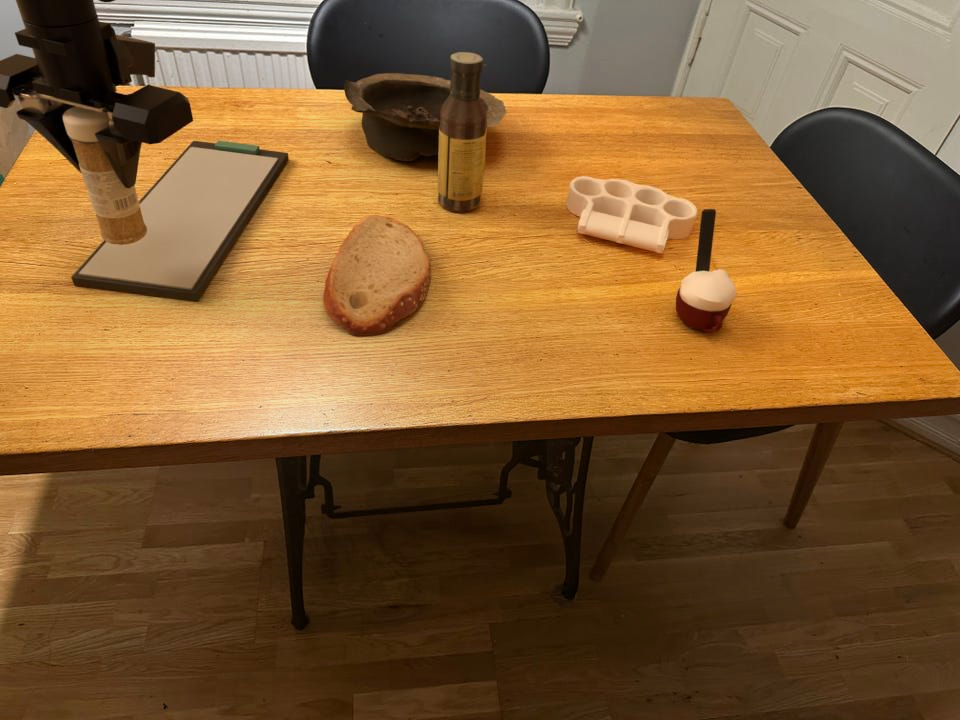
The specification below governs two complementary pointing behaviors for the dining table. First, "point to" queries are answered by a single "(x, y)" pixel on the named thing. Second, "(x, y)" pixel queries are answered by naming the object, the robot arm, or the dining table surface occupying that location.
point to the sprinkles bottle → (104, 179)
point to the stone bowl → (407, 112)
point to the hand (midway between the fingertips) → (110, 181)
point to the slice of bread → (376, 276)
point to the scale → (188, 222)
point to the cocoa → (705, 286)
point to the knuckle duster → (629, 212)
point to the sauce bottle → (462, 136)
